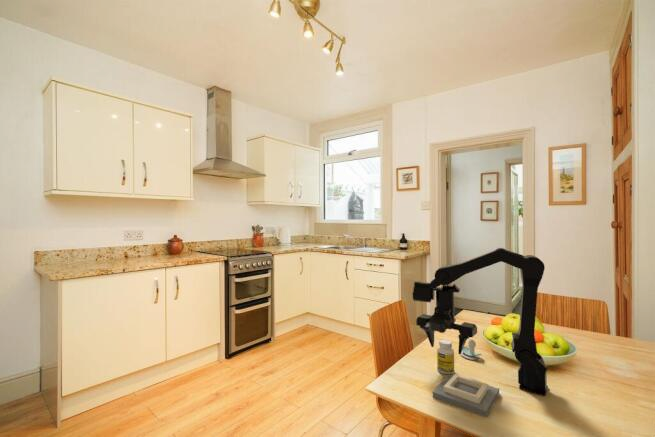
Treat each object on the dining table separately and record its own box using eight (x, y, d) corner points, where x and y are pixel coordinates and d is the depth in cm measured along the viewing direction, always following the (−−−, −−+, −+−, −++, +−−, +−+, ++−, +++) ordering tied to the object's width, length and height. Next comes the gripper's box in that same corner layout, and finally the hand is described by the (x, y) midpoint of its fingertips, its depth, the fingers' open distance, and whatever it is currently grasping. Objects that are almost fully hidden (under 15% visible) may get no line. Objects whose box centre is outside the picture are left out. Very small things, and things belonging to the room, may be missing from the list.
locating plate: (499, 393, 89) (499, 383, 89) (486, 417, 79) (485, 405, 79) (450, 378, 98) (450, 368, 98) (432, 397, 88) (432, 386, 88)
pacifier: (471, 362, 109) (484, 359, 112) (471, 345, 109) (483, 342, 112) (456, 354, 116) (468, 351, 118) (455, 338, 116) (467, 335, 118)
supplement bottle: (436, 372, 102) (435, 342, 102) (438, 365, 107) (438, 337, 107) (453, 376, 100) (453, 345, 100) (455, 368, 104) (454, 340, 105)
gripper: (408, 304, 104) (409, 350, 104) (466, 314, 91) (467, 367, 91) (422, 297, 112) (423, 340, 112) (477, 306, 100) (478, 354, 99)
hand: (445, 350), depth 103 cm, fingers open, 9 cm apart
